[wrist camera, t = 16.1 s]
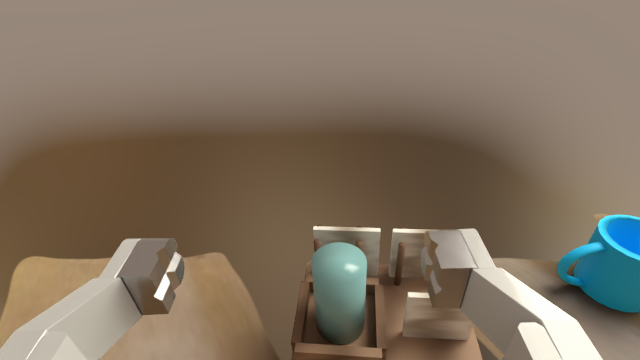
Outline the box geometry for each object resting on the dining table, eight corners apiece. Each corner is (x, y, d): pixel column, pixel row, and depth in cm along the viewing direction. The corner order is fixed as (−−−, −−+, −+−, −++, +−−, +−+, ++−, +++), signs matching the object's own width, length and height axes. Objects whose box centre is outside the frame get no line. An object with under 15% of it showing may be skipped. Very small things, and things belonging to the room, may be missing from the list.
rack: (292, 366, 38) (283, 317, 33) (308, 266, 50) (303, 218, 45) (484, 380, 36) (507, 330, 31) (455, 272, 48) (468, 222, 42)
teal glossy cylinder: (312, 342, 39) (307, 281, 34) (319, 300, 44) (315, 240, 38) (363, 347, 39) (366, 286, 33) (365, 303, 43) (367, 243, 38)
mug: (620, 258, 48) (649, 212, 44) (669, 311, 42) (710, 263, 37) (531, 263, 48) (551, 218, 44) (567, 316, 42) (594, 269, 37)
